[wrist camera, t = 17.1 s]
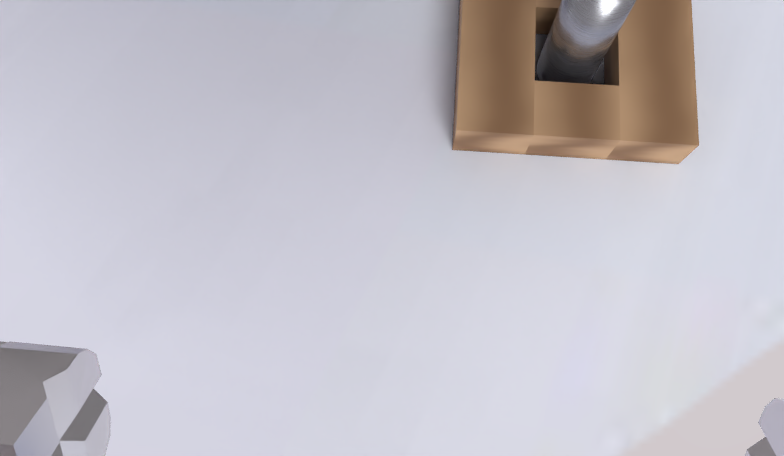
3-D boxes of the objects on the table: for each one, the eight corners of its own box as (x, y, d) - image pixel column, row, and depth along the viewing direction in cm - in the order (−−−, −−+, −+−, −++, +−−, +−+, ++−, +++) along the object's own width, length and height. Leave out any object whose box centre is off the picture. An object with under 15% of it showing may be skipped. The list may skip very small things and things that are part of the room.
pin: (536, 93, 44) (574, 2, 34) (536, 43, 45) (574, -59, 35) (592, 97, 44) (647, 6, 34) (592, 47, 45) (645, -56, 35)
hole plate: (452, 149, 43) (456, 130, 40) (460, -17, 46) (464, -46, 43) (678, 163, 43) (698, 145, 40) (671, -5, 46) (689, -34, 43)
